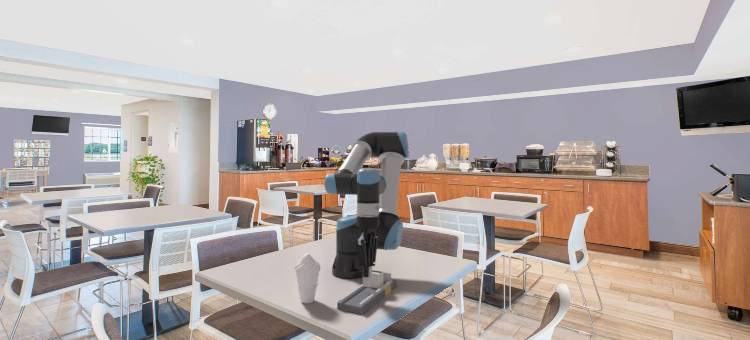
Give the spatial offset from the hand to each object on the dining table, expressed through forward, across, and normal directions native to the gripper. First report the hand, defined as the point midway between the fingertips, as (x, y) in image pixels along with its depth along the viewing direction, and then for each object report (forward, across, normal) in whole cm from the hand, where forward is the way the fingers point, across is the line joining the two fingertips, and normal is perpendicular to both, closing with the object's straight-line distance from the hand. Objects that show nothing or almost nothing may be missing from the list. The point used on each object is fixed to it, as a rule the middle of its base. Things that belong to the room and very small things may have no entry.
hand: (367, 285), depth 121 cm
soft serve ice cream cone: (+5, -10, +17) cm, 20 cm away
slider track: (+4, +2, 0) cm, 5 cm away
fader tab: (+2, +7, 0) cm, 7 cm away
